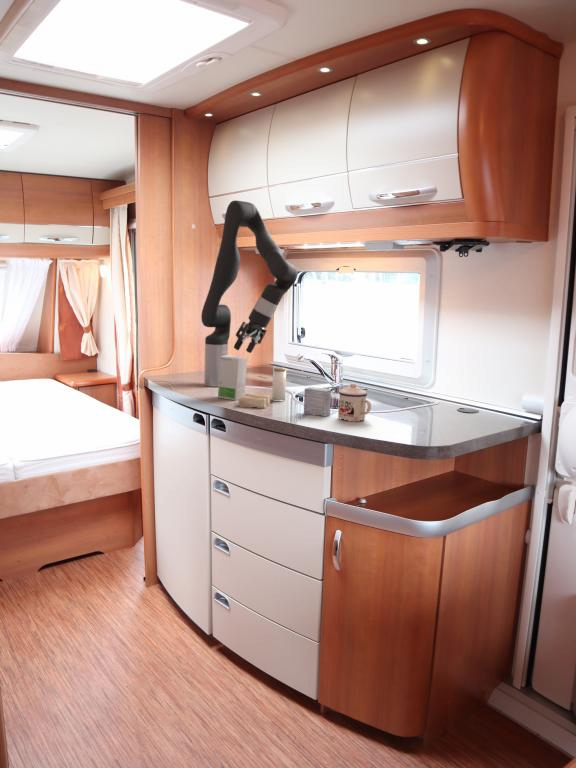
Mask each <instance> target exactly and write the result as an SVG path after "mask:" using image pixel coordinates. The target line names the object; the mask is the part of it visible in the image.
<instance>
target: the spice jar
mask: <svg viewBox="0 0 576 768" xmlns="http://www.w3.org/2000/svg"><path fill="white" fill-rule="evenodd" d="M286 382H287V368H286V367H279V366H278V367H273V371H272V387H271V388H272V391H271V392H272V395H271V400H272V399H273V400H285V401H286V384H287V383H286ZM273 400H272V401H273Z"/></svg>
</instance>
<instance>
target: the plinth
mask: <svg viewBox="0 0 576 768" xmlns="http://www.w3.org/2000/svg"><path fill="white" fill-rule="evenodd" d="M269 403H270V404H271V395H268V394H256V393H255V394H253V393H245V395H243V396H241V397H240V398H239V400H238V407H241V408H251V407H257V408H256V409H266V408H267V407H268V406H269V405H270V404H269ZM268 404H269V405H268ZM267 405H268V406H267ZM266 406H267V407H266ZM265 407H266V408H265Z"/></svg>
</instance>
